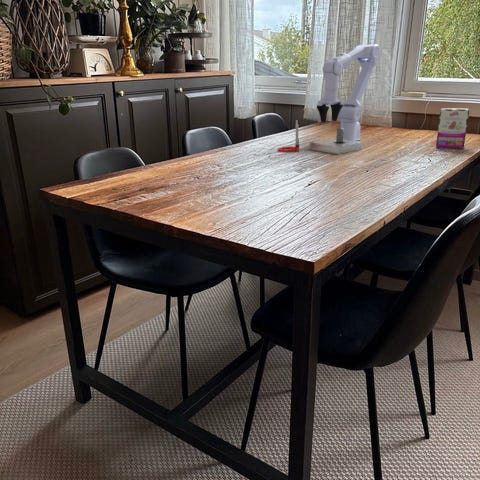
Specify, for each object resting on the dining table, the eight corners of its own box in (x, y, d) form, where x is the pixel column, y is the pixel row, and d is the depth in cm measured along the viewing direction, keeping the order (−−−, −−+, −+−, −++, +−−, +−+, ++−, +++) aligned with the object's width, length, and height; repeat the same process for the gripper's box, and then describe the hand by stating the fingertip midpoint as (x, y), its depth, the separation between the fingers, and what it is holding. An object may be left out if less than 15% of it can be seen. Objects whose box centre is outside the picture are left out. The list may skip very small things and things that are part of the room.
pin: (338, 148, 204) (340, 127, 201) (344, 149, 202) (345, 128, 199) (334, 149, 202) (335, 128, 199) (339, 150, 200) (340, 129, 197)
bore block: (332, 144, 214) (333, 137, 213) (362, 148, 203) (362, 141, 202) (309, 149, 204) (309, 142, 203) (338, 154, 193) (339, 147, 192)
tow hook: (278, 153, 200) (299, 152, 199) (277, 122, 195) (299, 121, 194) (277, 149, 208) (298, 148, 207) (276, 120, 203) (297, 118, 202)
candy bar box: (463, 147, 202) (469, 108, 196) (463, 149, 198) (470, 109, 191) (435, 145, 206) (440, 107, 200) (435, 148, 201) (440, 108, 195)
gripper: (334, 88, 212) (332, 119, 217) (313, 89, 203) (311, 121, 208) (346, 89, 207) (344, 120, 212) (325, 90, 198) (323, 123, 203)
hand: (328, 121), depth 209 cm, fingers open, 7 cm apart
